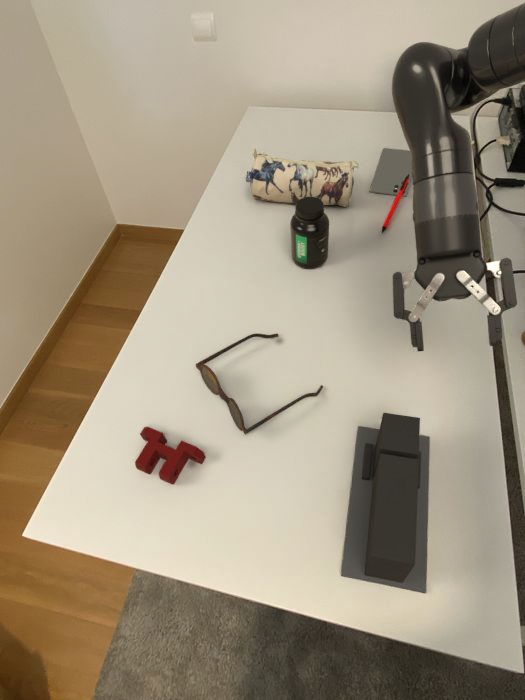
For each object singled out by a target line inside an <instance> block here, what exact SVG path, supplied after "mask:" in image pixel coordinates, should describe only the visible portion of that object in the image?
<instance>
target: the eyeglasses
mask: <svg viewBox="0 0 525 700" xmlns="http://www.w3.org/2000/svg"><path fill="white" fill-rule="evenodd" d="M278 337H279V333H273V334H265V333H252V334H249V335H247V336H245V337H243V338H241V339H240V340H237V341H236V342H233V343H232V344H230V345H228V346H226V347H225V348H223V349H220V350H219V351H217V352H215V353H213V354H212V355H209V356H208V357H206V358H204V359H202V360H201V361H199V362H197V363H195V367H196V369H197V370H198V371H199V372H200V375H201V378H202V381H203V382H204V384H205V386H206V387H207V388H208V390H210V392H211V393H212V394H214V395H215V396H219V398H220V399H221V400H222V401H224V402H225V403H226V404H227V407H228V411H229V413H230V416H231V418H232V420H233V423H234V424H235V426H236V427H237V429H238V430H239V431H240V432H243V434H244V435H245V436H246V435H247V434H249V433H251V432H252V431H254V430H257V429H258V428H259V427H260V426H262V425H263V424H265V423H267V422H269V421H270V420H272V419H273V418H274V417H276V416H278V415H279V414H281V413H283V412H285V411H286V410H288V409H289V408H290V407H292V406H294V405H296V404H297V403H300V402H301V401H303V400H304V399H306V398H312V397H318V396H319V395H320V393H321V391H322V390H323V388H324V385H323V384H321V385H320V386H319V387H318V389H317V391H316V392H308V393H306V394H303V395H301V396H299V397H298V398H295V399H294V400H293V401H291V402H289V403H287V404H285V405H284V406H282V407H281V408H279V409H277V410H275V411H274V412H273V413H271V414H269V415H267V416H265V417H264V418H262V419H260V420H259V421H258V422H256V423H254V424H253V425H251V426H250V427H247V428H246V426H245V420H244V416H243V414H242V411H241V409H240V406H239V405H238V403H237V401H236V400H235V399H234V398H232V397H229V396H228V395H227V394H226V393H225V391H224V389H223V388H222V386H221V384H220V381H219V379H218V377H217V375H216V374H215V372H214V371H213V370H212V368H210V366H208V365H206V364H207V363H209V362H211V361H213V360H214V359H216V358H218V357H220V356H222V354H223V355H224V354H225V353H226V352H228V351H231V350H232V349H234V348H235V347H237V346H239V345H241V344H243V343H244V342H246V341H249V340H250V339H253V338H262V339H274V338H278Z"/></svg>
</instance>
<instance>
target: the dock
mask: <svg viewBox="0 0 525 700" xmlns="http://www.w3.org/2000/svg"><path fill="white" fill-rule="evenodd" d="M379 429H380V428H375V427H368V426H362V425H357V431H356V440H355V449H354V459H353V467H352V475H351V482H350V483H351V484H350V492H349V500H348V502H349V503H348V511H347V518H346V527H345V536H344V545H343V552H342V553H343V554H342V563H341V571H340V576H341V577H343V578H348V579H354V580H358V581H363V582H368V583H373V584H378V585H383V586H387V587H393V588H397V589H401V590H406V591H411V592H417V593H422V594H426V593H427V585H428V584H427V579H428V541H429V540H428V537H429V536H428V534H429V533H428V531H429V530H428V529H429V495H430V493H429V492H430V491H429V490H430V489H429V488H430V487H429V486H430V448H431V447H430V445H431V444H430V443H431V437H430V436H429V435H424V434H423V435H422V434H419V455H418V457H417V459H413V458H407V457H400V456H394V455H388V454H382V453H380V456H379V460H378V464H377V467H376V471H375V475H374V477H373V471H374V460H375V449H376V442H377V437H378V433H379Z"/></svg>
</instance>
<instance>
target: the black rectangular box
mask: <svg viewBox="0 0 525 700" xmlns="http://www.w3.org/2000/svg"><path fill="white" fill-rule="evenodd" d="M378 429H379V433H378V437H377V442H376V449H375V460H374V471H373V477H374V475H375V471H376V467H377V464H378V460H379V456H380V453H382V454H388V455H394V456H400V457H407V458H413V459H417V457H418V455H419V435H421V433H420V431H421V417H416V416H411V415H403V414H396V413H390V412H383V413H382V416H381V421H380V425H379V428H378Z"/></svg>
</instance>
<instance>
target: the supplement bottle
mask: <svg viewBox="0 0 525 700" xmlns="http://www.w3.org/2000/svg"><path fill="white" fill-rule="evenodd" d="M294 209H295V211H294V214H293V215H292V217H291V219H290V224H289V225H290V226H289V229H290V249H291V251H290V252H291V259H292V262H293V263H294V264H295V265H296V266H297V267H299V268H301V269H305V270H312V269H313V270H314V269H317V268H320V267H321V266H324V264H325V263H326V262H327V260H328V257H329V246H330V245H329V243H330V219H329V217H328V215H327V214H326V213H325V205H324V204H323V202H322V201H321V199H319V198H317V197H312V196H311V197H303V198H301V199H300V200H299V201H297V203H295V207H294Z"/></svg>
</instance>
